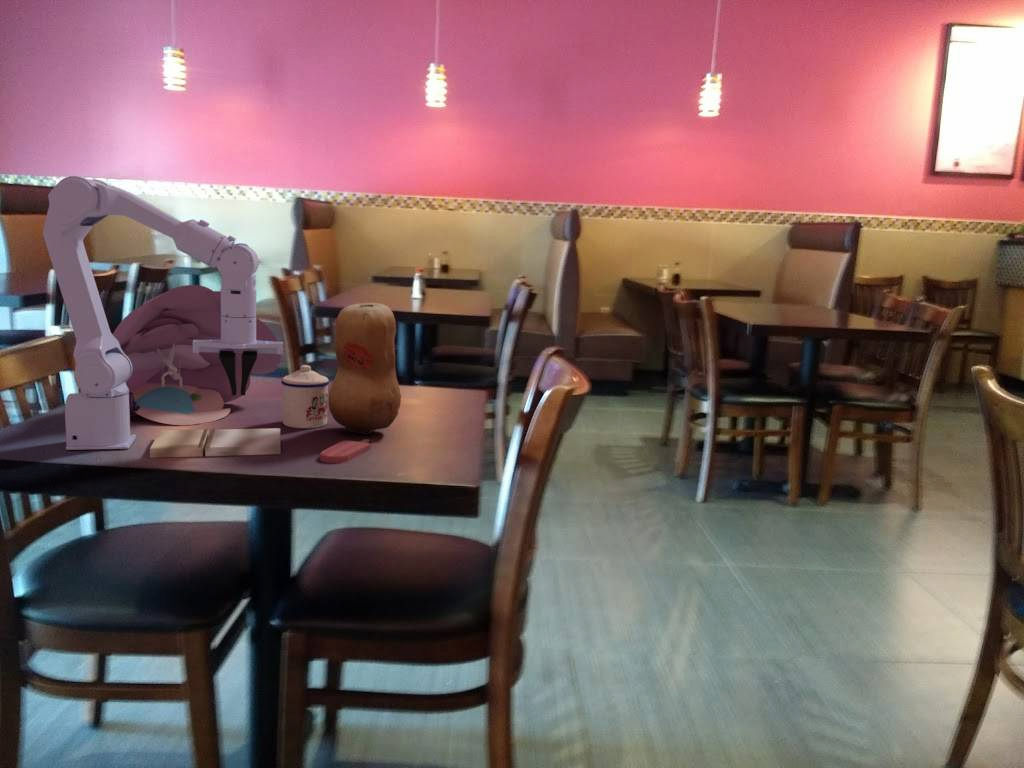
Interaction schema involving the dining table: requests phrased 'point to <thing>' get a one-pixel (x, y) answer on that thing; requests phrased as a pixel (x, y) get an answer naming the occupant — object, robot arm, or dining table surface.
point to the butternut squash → (365, 369)
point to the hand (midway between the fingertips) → (238, 394)
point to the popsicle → (344, 451)
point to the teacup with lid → (305, 399)
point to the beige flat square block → (243, 442)
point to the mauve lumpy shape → (182, 358)
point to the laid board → (179, 443)
